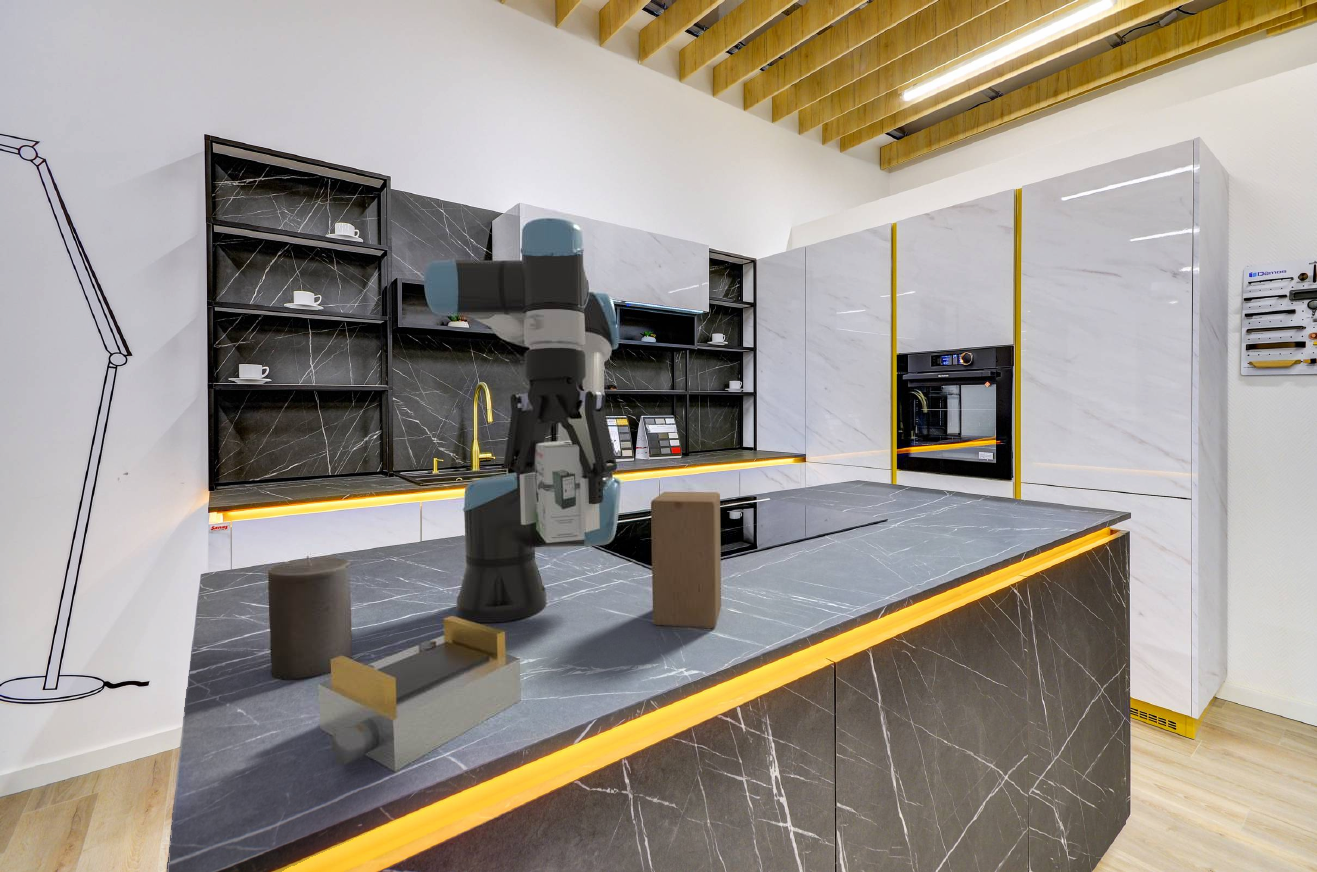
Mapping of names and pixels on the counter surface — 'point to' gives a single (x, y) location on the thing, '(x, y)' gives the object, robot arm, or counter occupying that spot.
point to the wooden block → (686, 559)
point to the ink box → (558, 491)
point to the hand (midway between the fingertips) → (559, 526)
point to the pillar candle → (309, 616)
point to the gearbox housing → (418, 695)
